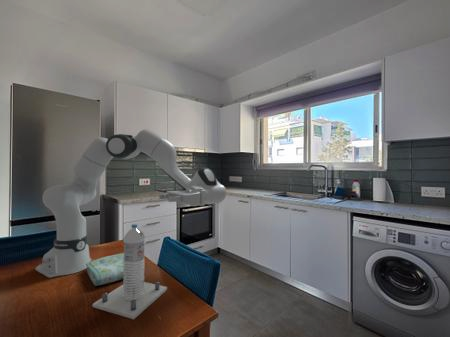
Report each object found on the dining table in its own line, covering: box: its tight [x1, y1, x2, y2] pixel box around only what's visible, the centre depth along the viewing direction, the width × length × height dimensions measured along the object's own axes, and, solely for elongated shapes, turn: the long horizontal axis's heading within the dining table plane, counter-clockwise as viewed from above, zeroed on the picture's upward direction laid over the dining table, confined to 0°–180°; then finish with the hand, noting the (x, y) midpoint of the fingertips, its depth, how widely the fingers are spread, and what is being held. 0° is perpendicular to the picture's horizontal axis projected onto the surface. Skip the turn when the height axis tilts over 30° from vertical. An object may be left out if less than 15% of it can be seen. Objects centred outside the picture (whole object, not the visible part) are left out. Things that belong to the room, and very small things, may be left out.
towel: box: [86, 252, 124, 287], centre depth 94 cm, size 18×21×5 cm
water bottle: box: [122, 223, 146, 301], centre depth 74 cm, size 7×7×25 cm
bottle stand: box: [92, 280, 168, 320], centre depth 75 cm, size 17×17×4 cm
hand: (163, 198), depth 85 cm, fingers open, 8 cm apart
